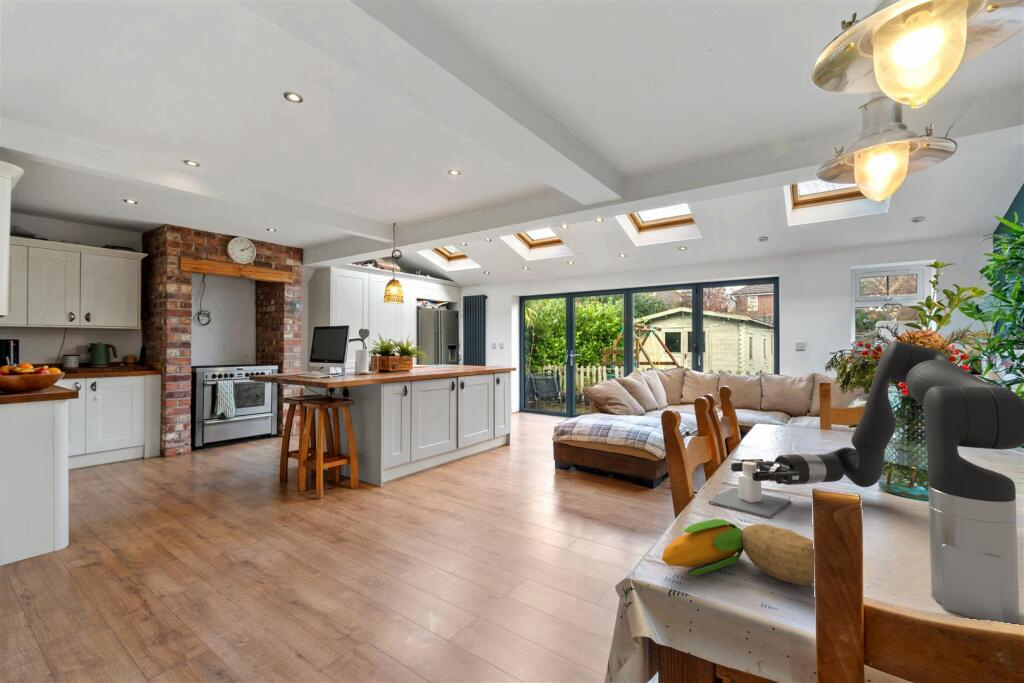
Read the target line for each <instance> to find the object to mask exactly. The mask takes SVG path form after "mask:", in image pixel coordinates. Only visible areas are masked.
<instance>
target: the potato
mask: <svg viewBox="0 0 1024 683" xmlns="http://www.w3.org/2000/svg"><path fill="white" fill-rule="evenodd" d="M741 530H742V541H743V548H744V550H743V552H744V553H745V554H746V556H747V557H748V559H749V560H750V561H751V563H752V564H753V565H754V566H755V567H756V568H757V569H758V570H760V571H762V572H764V573H766V574H767V575H769V576H771V577H773V578H776V579H778V580H781V581H783V582H785V581H786V583H790V584H794V585H797V586H809V585H813V584H814V583H815V582H814V549H813V541H814V540H813V539H811V538H808V537H806V536H803V535H801V534H799V533H797V532H795V531H793V530H790V529H786V528H781V527H776V526H772V525H769V524H762V523H755V524H751V525H748V526H746V527H744V528H743V529H741Z"/></svg>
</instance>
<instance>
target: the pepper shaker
mask: <svg viewBox="0 0 1024 683" xmlns="http://www.w3.org/2000/svg"><path fill="white" fill-rule="evenodd" d="M741 462H742V461H741ZM742 468H743V469H742V470H743V471H742V473H741V474H739V475H738V478H737V479H738V480H737V481H738V482H737V483H738V484H737V485H738V489H739V498H740V499H742V500H745V501H747V502H750V503H753V502H759V501H761V499H762V497H761V494H762V481H754V480H753V478H752V473H753V472H754V471H758V469H757V470H756V463H754V462H742Z"/></svg>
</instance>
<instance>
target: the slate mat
mask: <svg viewBox="0 0 1024 683" xmlns="http://www.w3.org/2000/svg"><path fill="white" fill-rule="evenodd" d="M761 497H762V499H761V501H759V502H753V503H750V502H747V501H745V500H742V499H740V498H739V487H738V488H737V487H732V488H730V489H728V490H727V491H725V492H723V493H721V494H719V495H717V496H715V497H713V498H711V499H709V500H708V504H709V503H713V504H717V505H722V506H725V507H729V508H732V509H731V510H733V509H735V510H734V511H737V510H739V511H738V512H741V511H743V512H742V513H745V512H746V514H748V515H749V514H751V515H753V516H758V517H762V518H766V519H770V518H773V516H774V515H776V514H777V513H778V512H780V511H781V510H782V509H785V507H787V506H788V505H789V504H791V502H792V500H791V499H788V498H784V497H779V496H774V495H769V494H765V493H761ZM713 504H712V505H713ZM787 504H788V505H787ZM717 505H716V506H717ZM725 507H724V508H725ZM729 508H728V509H729Z"/></svg>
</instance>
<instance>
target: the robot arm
mask: <svg viewBox="0 0 1024 683" xmlns="http://www.w3.org/2000/svg"><path fill="white" fill-rule="evenodd" d="M882 352H883V353H882V354H881V357H880V358H879V362H878V364H877V367H876V370H875V373H874V376H873V379H872V383H871V385H870V389H869V392H868V395H867V399H866V404H865V406H864V410H863V412H862V415H861V417H860V420H859V422H858V423H857V426H856V428H855V430H854V432H853V434H852V437H851V440H850V441H851V444H852V446H853V447H854V448H852V447H845V446H844V447H841V448H838V449H836V450H833V451H831V452H827V453H825V454H821V453H820V454H809V453H808V454H806V453H798V454H796V453H795V454H780V455H778V456H777V457H775V460H774V461H773V460H764V459H762V458H755V459H753V458H752V459H751V458H748V459H747V458H746V459H741V462H731V464H730V469H731V471H732V472H735V473H736V472H739V473H740V472H743V470H742V469H743V468H742V462H754V463H756V470H757V471H754V472H753V473H752V478H753V480H754V481H761V482H766V481H768V482H771V483H776V484H777V485H782V484H783V485H786V486H793V485H794V486H795V485H798V486H799V485H814V484H818V483H832V482H834V483H835V482H838V481H841V480H842V479H843V477H844V476H845V477H846V478H847V479H849V480H850V482H852V483H853V484H855V486H858V487H860V488H869V487H872V486H874V485H875V484H877V483H878V482H879V481H880V479H881V478H882V474H883V471H884V465H885V464H884V463H885V462H884V461H885V456H886V455H885V454H886V449H887V446H888V445H889V444H890V441H891V439H892V438H893V436H894V434H895V431H896V428H897V427H896V425H897V424H896V423H897V422H896V417H895V413H894V411H893V408H892V405H891V401H890V398H889V387H890V383H891V381H894V382H897V383H902V384H905V385H906V386H905V387H906V390H907V391H908V393H909V394H910V396H911V397H912V398H913V399H914V400H915V401H916V403H918V404H919V405H920V406H922V407H923V421H924V422H923V423H924V430H925V439H926V440H925V441H926V454H927V455H926V456H927V460H926V461H927V472H928V474H927V475H928V478H927V479H928V482H927V484H928V516H929V518H928V520H929V555H930V557H929V559H930V560H929V562H930V584H931V586H930V589H931V590H930V591H931V592H930V595H931V597H932V598H933V599H934V600H935V601H936V602H937V603H939V604H940V605H941V606H942V608H943V609H944V610H947V611H950V612H953V613H956V614H960V615H963V616H966V617H970V618H973V619H977V620H979V619H982V620H990V621H998V622H1004V623H1011V624H1015V623H1018V622H1019V621H1020V590H1019V564H1018V563H1019V562H1018V560H1019V559H1018V536H1017V535H1018V531H1017V530H1018V528H1017V527H1018V526H1017V500H1016V498H1017V497H1016V496H1017V494H1016V489H1017V488H1016V485H1015V482H1014V480H1013V479H1012V478H1011V477H1008V476H1006V475H1005V474H1002V473H1000V472H998V471H995V470H991V469H988V468H984V467H982V466H979V465H977V464H975V463H972V462H971V461H968V460H967V459H965V458H963V457H962V456H961V455H960V453H959V450H958V448H959V447H961V448H972V449H973V448H974V449H985V450H1000V451H1001V450H1011V449H1016V448H1020V447H1021V446H1023V445H1024V400H1023V398H1022V397H1021V396H1020V395H1019V394H1017V393H1016V392H1014V390H1011V389H1009V388H1006V387H1002V386H999V385H997V384H992V383H990V382H987V381H985V380H983V379H982V378H979V377H978V376H975V375H974V374H971V373H970V372H969V371H968V370H966V369H965V368H963V367H961V366H959V365H958V364H956V363H954V362H952V361H951V360H950V358H948V356H947V355H946V354H945V353H944V352H942V351H940V350H938V349H935V348H931V347H928V346H922V345H918V344H914V343H909V342H905V341H897V340H895V341H892V342H890V343H889V344H888V345H887V346H886V347H885V349H884V350H883V351H882ZM982 620H981V621H982Z"/></svg>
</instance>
